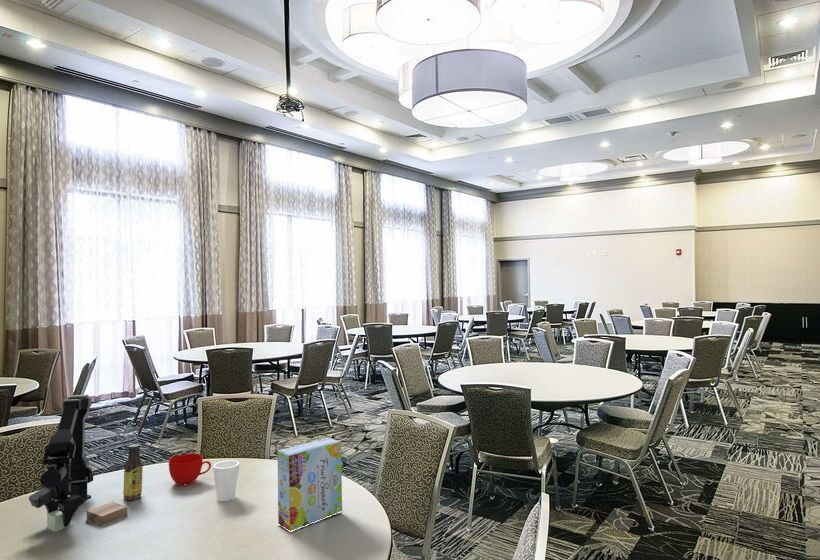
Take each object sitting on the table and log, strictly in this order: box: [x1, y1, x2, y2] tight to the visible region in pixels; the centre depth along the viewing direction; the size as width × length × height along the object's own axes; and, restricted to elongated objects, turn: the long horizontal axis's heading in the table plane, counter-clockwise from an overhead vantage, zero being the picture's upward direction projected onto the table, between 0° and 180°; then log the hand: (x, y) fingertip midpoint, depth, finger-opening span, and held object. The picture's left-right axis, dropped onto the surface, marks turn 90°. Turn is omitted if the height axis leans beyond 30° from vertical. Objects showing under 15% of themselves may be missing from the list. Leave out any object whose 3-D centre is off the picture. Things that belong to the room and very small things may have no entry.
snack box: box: [277, 437, 343, 531], centre depth 178 cm, size 22×9×26 cm, turn 134°
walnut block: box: [86, 501, 128, 527], centre depth 179 cm, size 9×9×4 cm
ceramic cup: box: [168, 453, 212, 486], centre depth 212 cm, size 13×17×10 cm
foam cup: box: [212, 459, 240, 503], centre depth 196 cm, size 10×9×13 cm
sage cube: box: [46, 510, 72, 533], centre depth 172 cm, size 5×5×5 cm
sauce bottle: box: [122, 443, 144, 501], centre depth 197 cm, size 7×6×20 cm
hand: (59, 523), depth 172 cm, fingers open, 8 cm apart
